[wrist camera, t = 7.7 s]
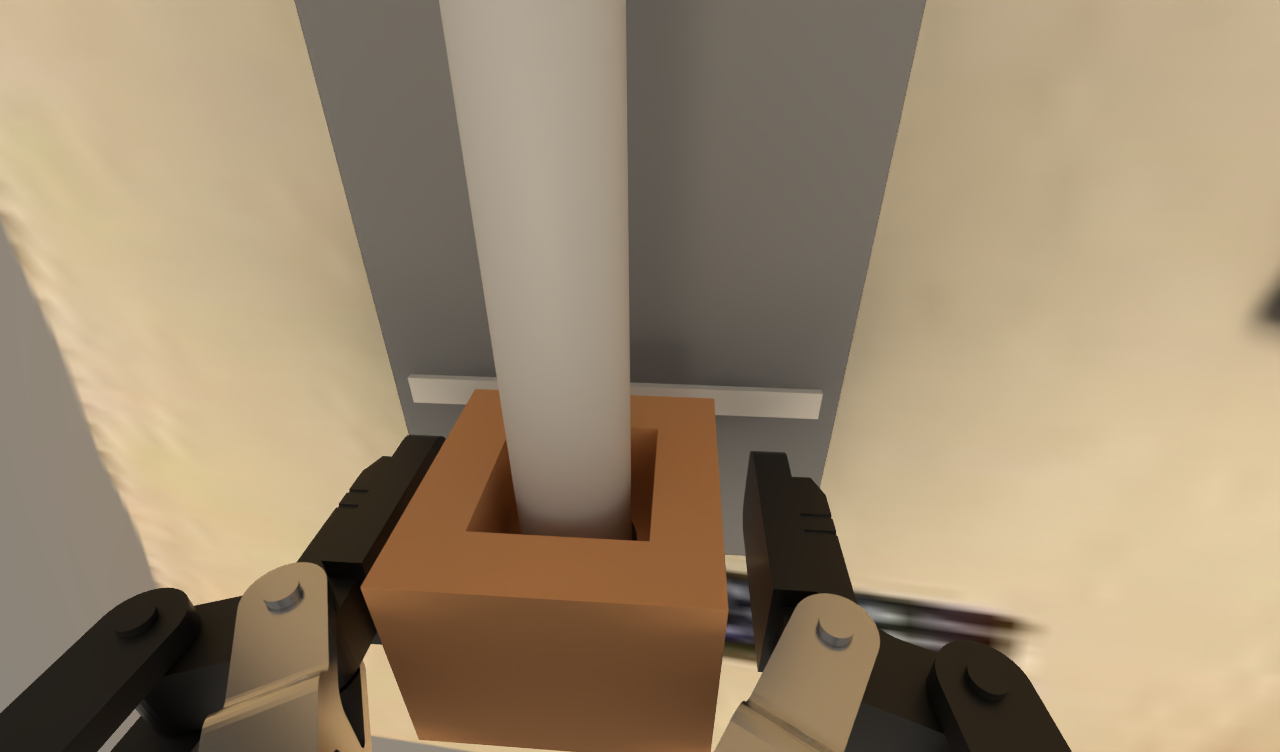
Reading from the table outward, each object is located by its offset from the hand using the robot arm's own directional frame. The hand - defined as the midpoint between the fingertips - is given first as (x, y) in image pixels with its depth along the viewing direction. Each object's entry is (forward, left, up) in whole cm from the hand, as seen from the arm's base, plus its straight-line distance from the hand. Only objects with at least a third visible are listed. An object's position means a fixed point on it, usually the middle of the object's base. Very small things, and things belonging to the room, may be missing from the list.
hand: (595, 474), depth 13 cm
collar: (0, 0, 0) cm, 0 cm away
